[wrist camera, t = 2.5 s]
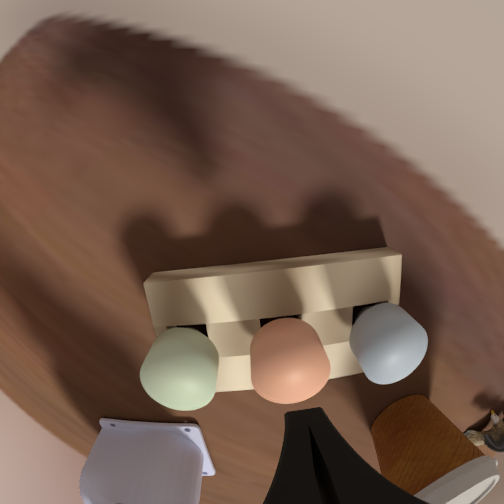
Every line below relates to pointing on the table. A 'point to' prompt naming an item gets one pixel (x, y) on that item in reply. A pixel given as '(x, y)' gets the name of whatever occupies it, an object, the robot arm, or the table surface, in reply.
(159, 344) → the sage button
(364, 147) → the table surface
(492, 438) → the eagle figurine
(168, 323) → the button board
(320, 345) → the peach round knob
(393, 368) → the slate button
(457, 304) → the table surface
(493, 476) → the disposable coffee cup
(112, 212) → the table surface
